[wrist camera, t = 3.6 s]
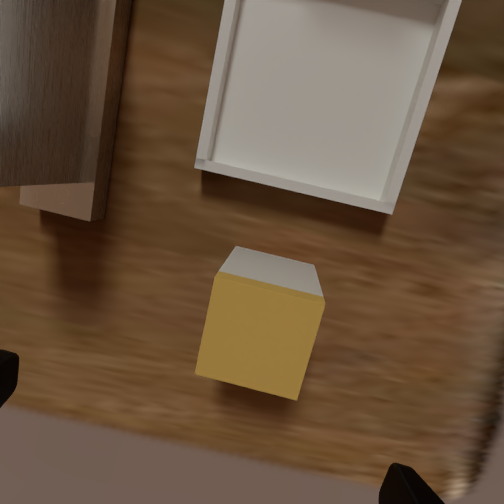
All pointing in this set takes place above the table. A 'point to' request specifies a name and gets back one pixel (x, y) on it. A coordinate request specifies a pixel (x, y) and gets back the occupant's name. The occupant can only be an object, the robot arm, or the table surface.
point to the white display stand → (61, 100)
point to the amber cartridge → (261, 323)
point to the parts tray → (323, 94)
